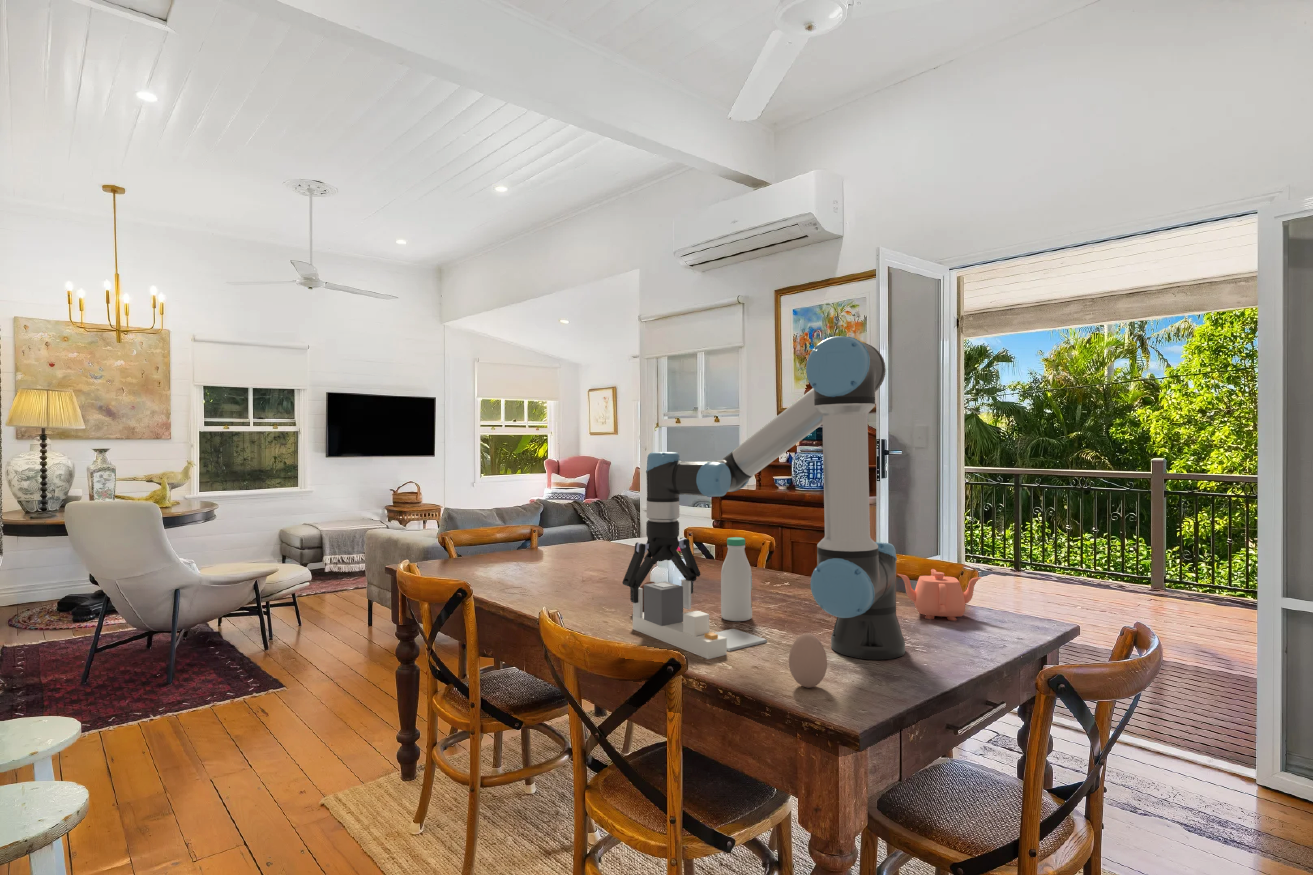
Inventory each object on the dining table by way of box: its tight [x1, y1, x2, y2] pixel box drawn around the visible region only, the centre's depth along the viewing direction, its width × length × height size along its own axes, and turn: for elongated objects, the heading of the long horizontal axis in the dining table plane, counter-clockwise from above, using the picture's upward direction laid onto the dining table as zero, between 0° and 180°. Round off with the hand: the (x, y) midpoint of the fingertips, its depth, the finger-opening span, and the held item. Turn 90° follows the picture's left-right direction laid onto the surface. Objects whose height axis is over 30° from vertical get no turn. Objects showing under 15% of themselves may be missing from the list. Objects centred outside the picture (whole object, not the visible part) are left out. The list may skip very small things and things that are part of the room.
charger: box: [643, 581, 684, 626], centre depth 162 cm, size 7×6×8 cm
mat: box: [714, 628, 768, 652], centre depth 158 cm, size 11×11×1 cm
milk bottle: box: [720, 536, 753, 622], centre depth 178 cm, size 8×8×20 cm
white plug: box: [682, 610, 710, 636], centre depth 152 cm, size 4×4×4 cm
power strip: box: [632, 612, 728, 660], centre depth 158 cm, size 28×5×4 cm, turn 35°
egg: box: [788, 632, 828, 689], centre depth 129 cm, size 7×7×10 cm
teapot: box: [897, 568, 983, 622], centre depth 178 cm, size 14×14×11 cm
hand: (662, 612), depth 162 cm, fingers open, 13 cm apart
